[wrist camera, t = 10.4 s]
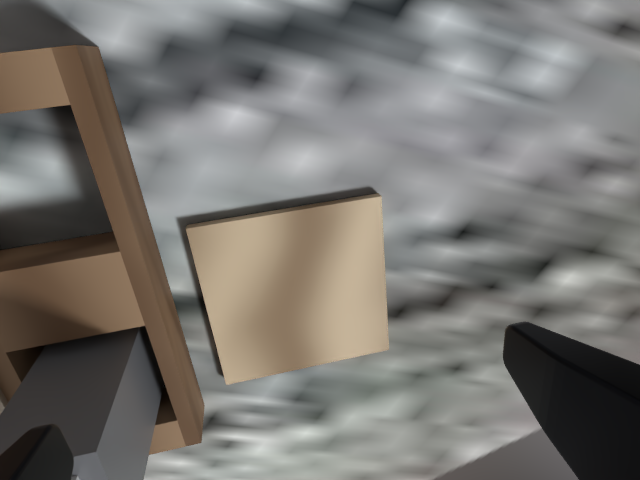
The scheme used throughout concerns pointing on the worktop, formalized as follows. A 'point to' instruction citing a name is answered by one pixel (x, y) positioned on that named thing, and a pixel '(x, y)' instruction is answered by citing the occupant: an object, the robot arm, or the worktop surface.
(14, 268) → the socket strip
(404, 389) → the worktop surface
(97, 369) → the plug
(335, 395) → the worktop surface
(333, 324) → the pad
